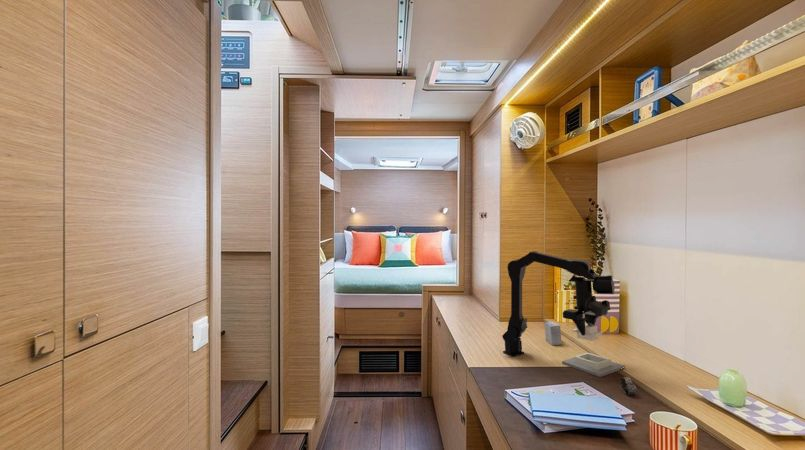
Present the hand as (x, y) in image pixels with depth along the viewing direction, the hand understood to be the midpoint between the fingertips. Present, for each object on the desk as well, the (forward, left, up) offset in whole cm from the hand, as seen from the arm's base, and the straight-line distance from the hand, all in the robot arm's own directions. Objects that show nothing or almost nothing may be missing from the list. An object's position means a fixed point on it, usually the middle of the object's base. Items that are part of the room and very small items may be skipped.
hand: (587, 334), depth 145 cm
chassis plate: (0, -2, -11) cm, 12 cm away
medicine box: (+11, +26, -12) cm, 30 cm away
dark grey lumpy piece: (-11, -23, -12) cm, 28 cm away
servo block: (0, 0, -2) cm, 2 cm away
